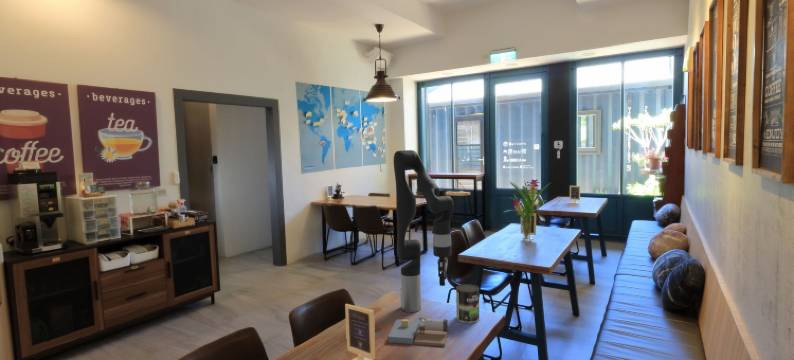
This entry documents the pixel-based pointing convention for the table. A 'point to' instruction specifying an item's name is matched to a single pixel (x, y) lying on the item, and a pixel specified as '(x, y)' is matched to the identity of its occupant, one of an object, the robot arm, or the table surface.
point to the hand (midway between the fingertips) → (443, 282)
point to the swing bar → (433, 324)
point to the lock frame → (407, 332)
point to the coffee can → (467, 303)
